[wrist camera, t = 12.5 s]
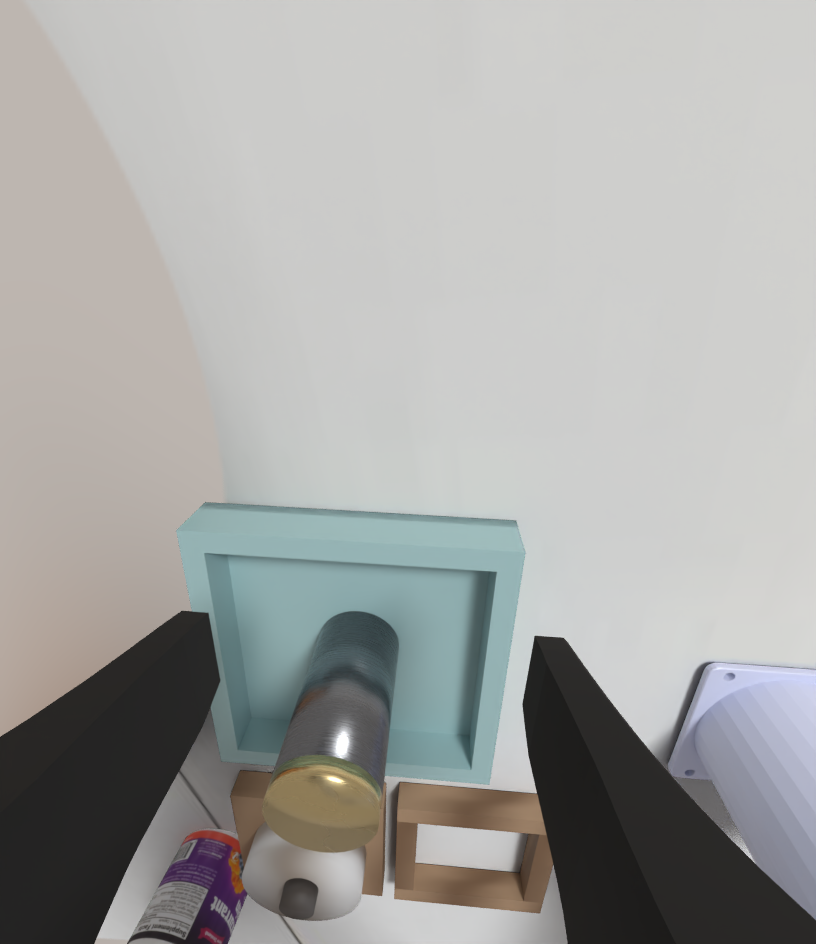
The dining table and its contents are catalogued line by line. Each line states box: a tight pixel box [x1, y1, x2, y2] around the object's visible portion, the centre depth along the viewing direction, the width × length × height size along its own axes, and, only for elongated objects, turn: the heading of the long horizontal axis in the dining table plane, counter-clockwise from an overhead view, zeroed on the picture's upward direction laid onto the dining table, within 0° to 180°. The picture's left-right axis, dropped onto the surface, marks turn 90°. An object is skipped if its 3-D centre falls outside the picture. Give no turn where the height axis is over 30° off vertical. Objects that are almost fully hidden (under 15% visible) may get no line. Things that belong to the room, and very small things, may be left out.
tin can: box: [262, 611, 399, 853], centre depth 19 cm, size 4×4×8 cm
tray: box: [176, 502, 525, 785], centre depth 22 cm, size 14×14×2 cm
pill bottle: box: [127, 828, 247, 944], centre depth 28 cm, size 5×5×10 cm
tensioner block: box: [230, 770, 553, 921], centre depth 28 cm, size 19×9×4 cm, turn 88°
